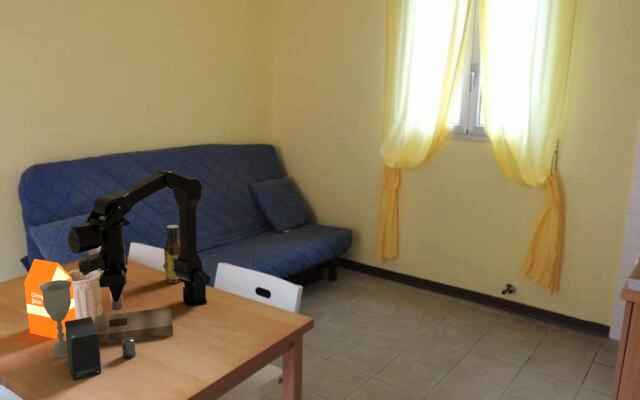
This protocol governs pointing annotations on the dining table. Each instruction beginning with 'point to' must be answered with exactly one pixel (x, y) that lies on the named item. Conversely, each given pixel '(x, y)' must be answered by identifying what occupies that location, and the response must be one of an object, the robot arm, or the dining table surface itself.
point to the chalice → (57, 309)
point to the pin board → (134, 325)
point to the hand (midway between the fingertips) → (116, 299)
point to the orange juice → (35, 308)
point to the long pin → (116, 303)
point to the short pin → (128, 347)
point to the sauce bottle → (171, 252)
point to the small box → (82, 348)
